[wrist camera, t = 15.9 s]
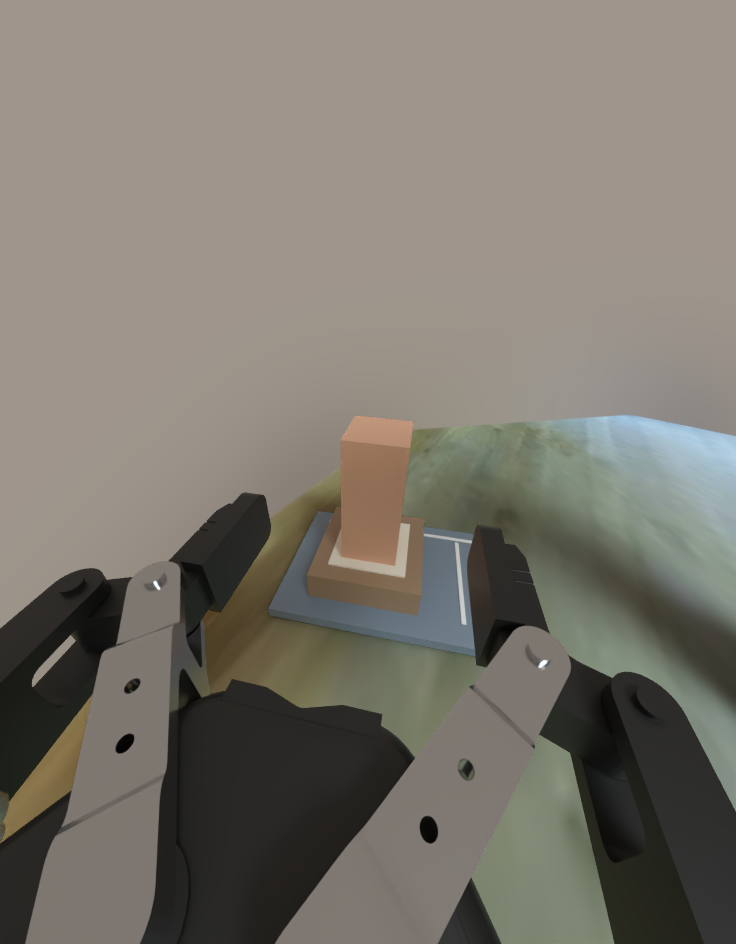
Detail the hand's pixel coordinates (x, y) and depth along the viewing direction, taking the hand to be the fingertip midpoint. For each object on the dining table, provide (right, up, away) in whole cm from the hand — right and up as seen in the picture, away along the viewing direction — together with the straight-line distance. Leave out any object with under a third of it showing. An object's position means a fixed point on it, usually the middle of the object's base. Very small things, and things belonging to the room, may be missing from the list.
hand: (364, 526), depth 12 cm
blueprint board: (+3, -9, +20) cm, 22 cm away
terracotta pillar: (+1, -5, +19) cm, 19 cm away
